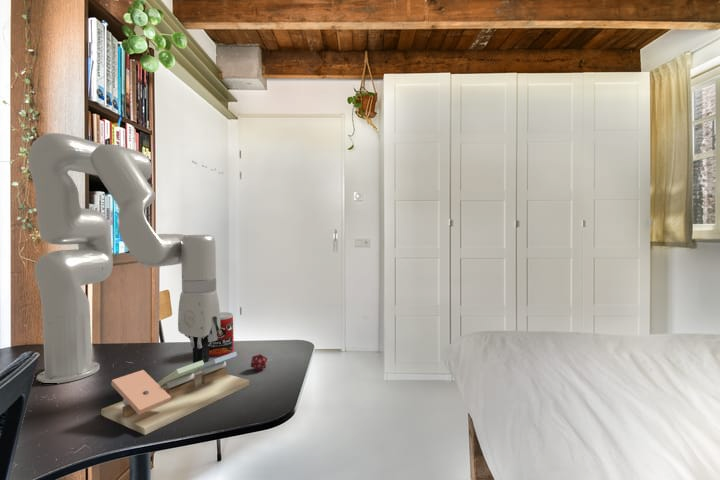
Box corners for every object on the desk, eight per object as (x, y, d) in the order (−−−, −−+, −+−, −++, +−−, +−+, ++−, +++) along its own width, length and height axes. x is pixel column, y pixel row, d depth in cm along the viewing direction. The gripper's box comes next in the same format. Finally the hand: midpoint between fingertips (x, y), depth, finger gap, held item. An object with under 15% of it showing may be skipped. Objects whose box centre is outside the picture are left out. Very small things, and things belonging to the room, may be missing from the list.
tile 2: (156, 396, 80) (152, 385, 80) (182, 386, 85) (178, 375, 86) (180, 380, 75) (176, 368, 76) (206, 370, 80) (202, 359, 81)
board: (101, 415, 74) (100, 400, 74) (206, 373, 95) (206, 361, 94) (144, 435, 66) (144, 418, 66) (249, 385, 87) (248, 372, 87)
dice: (259, 366, 99) (258, 351, 99) (270, 369, 97) (270, 353, 96) (247, 370, 96) (247, 355, 96) (259, 374, 93) (258, 358, 93)
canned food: (206, 358, 106) (205, 319, 106) (205, 350, 113) (204, 313, 113) (235, 354, 109) (234, 316, 109) (232, 346, 117) (231, 311, 116)
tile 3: (191, 379, 87) (188, 368, 88) (213, 370, 92) (210, 360, 93) (217, 370, 82) (214, 358, 83) (238, 361, 88) (235, 350, 88)
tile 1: (109, 390, 73) (112, 379, 72) (141, 379, 78) (143, 369, 78) (137, 421, 68) (139, 409, 68) (168, 407, 73) (171, 396, 73)
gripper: (165, 286, 90) (167, 362, 91) (206, 291, 83) (208, 374, 83) (193, 282, 97) (194, 353, 97) (233, 286, 89) (235, 363, 90)
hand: (201, 362), depth 90 cm, fingers closed
